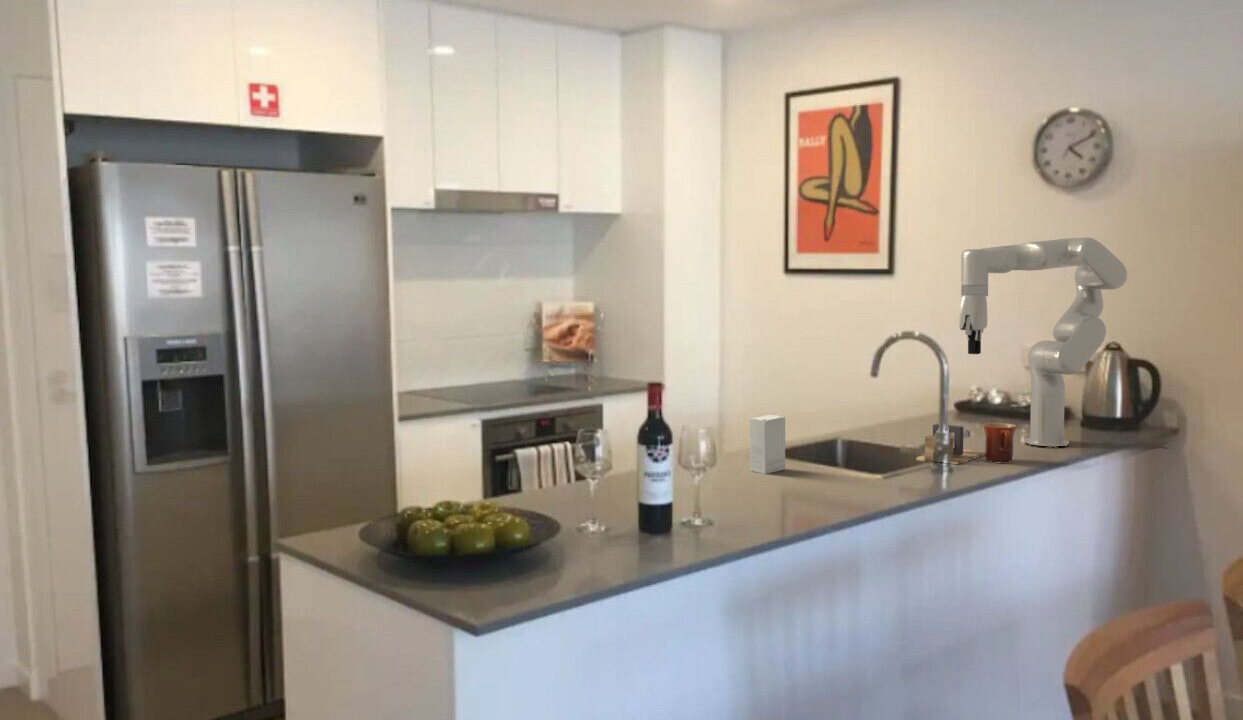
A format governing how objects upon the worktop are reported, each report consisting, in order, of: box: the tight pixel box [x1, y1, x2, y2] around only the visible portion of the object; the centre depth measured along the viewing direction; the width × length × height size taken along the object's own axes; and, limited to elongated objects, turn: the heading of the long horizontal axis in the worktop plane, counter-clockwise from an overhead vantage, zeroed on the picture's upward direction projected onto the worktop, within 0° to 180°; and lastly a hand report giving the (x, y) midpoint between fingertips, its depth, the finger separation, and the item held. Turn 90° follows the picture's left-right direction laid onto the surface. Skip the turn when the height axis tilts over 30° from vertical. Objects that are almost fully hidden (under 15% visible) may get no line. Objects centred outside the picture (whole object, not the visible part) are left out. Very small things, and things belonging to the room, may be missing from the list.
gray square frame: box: [932, 423, 964, 456], centre depth 299 cm, size 2×8×8 cm, turn 49°
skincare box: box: [749, 414, 786, 475], centre depth 285 cm, size 8×6×15 cm
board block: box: [915, 434, 985, 464], centre depth 302 cm, size 20×12×7 cm, turn 139°
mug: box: [982, 422, 1017, 463], centre depth 293 cm, size 12×9×10 cm
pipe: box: [949, 429, 971, 443], centre depth 302 cm, size 18×3×3 cm, turn 139°
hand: (974, 353), depth 310 cm, fingers closed
